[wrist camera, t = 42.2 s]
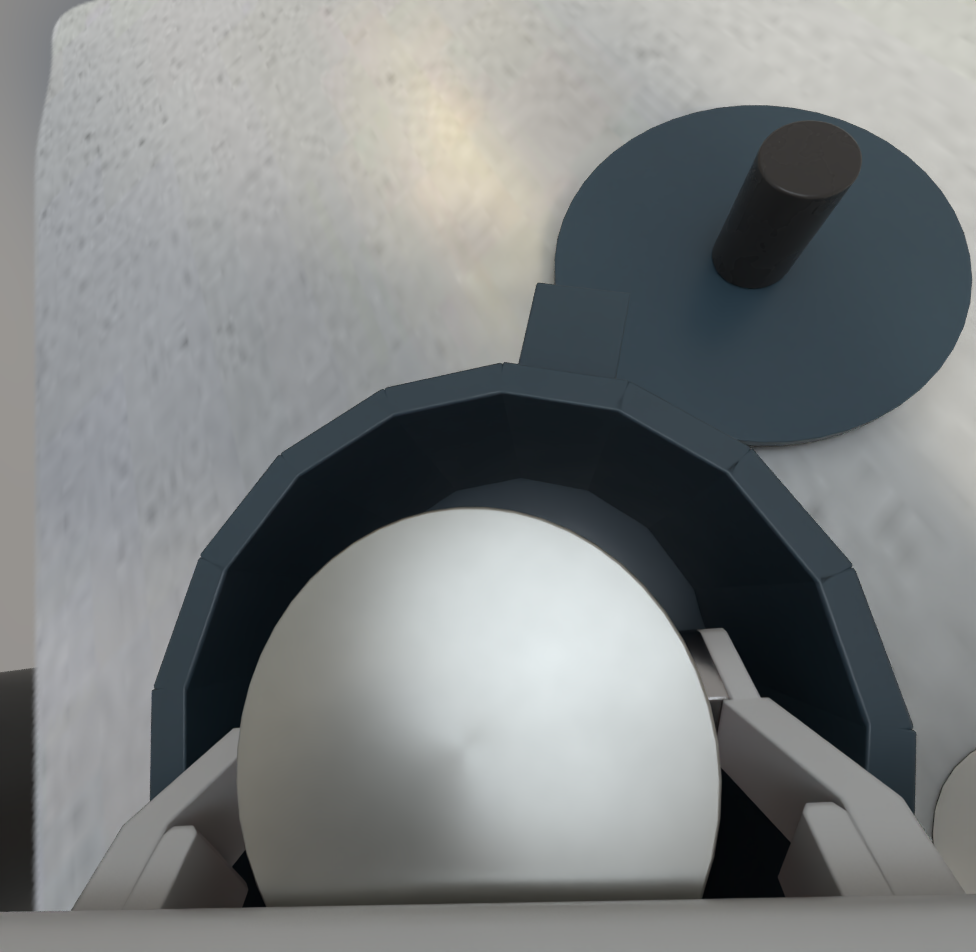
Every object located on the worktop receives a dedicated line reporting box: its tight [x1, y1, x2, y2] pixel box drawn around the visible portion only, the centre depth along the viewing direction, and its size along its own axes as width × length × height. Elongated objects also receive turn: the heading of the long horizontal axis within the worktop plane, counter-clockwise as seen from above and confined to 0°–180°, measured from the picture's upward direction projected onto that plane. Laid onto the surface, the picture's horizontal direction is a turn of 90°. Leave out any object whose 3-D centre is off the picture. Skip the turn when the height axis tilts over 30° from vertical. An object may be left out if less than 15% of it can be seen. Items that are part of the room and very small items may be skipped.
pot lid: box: [555, 105, 972, 446], centre depth 17 cm, size 16×16×6 cm
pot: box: [150, 283, 916, 908], centre depth 13 cm, size 15×20×8 cm
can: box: [236, 507, 722, 907], centre depth 11 cm, size 7×7×9 cm
